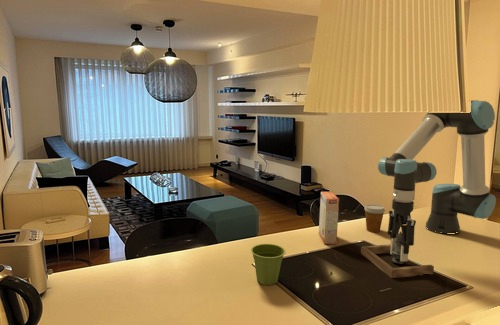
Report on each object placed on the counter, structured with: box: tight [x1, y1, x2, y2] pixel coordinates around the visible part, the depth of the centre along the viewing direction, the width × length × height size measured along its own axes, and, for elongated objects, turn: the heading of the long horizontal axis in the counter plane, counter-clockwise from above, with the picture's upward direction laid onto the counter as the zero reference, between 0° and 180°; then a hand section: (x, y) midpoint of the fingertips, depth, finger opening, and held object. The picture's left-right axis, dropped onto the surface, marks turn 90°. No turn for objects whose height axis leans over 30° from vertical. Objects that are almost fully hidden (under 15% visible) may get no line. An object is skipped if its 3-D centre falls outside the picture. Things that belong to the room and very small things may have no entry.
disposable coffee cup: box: [364, 204, 386, 233], centre depth 177 cm, size 10×10×12 cm
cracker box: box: [318, 191, 340, 245], centre depth 164 cm, size 14×6×21 cm, turn 179°
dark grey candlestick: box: [391, 230, 407, 265], centre depth 140 cm, size 6×6×12 cm
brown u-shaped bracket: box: [360, 243, 435, 279], centre depth 141 cm, size 17×22×3 cm
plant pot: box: [250, 243, 286, 286], centre depth 125 cm, size 12×12×11 cm
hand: (398, 257), depth 141 cm, fingers closed on dark grey candlestick, 6 cm apart
